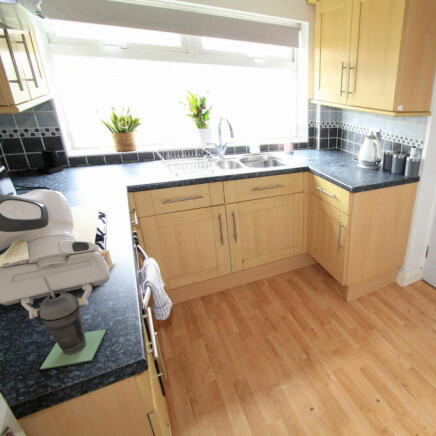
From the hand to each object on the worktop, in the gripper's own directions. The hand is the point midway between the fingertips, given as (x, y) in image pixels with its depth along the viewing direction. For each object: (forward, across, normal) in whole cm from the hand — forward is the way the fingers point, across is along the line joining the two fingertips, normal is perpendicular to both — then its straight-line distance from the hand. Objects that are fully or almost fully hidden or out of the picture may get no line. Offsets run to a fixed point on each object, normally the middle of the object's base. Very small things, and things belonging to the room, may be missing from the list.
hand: (60, 311), depth 72 cm
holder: (-16, -1, +33) cm, 37 cm away
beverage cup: (+8, 0, +9) cm, 12 cm away
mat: (+8, 0, +9) cm, 12 cm away
